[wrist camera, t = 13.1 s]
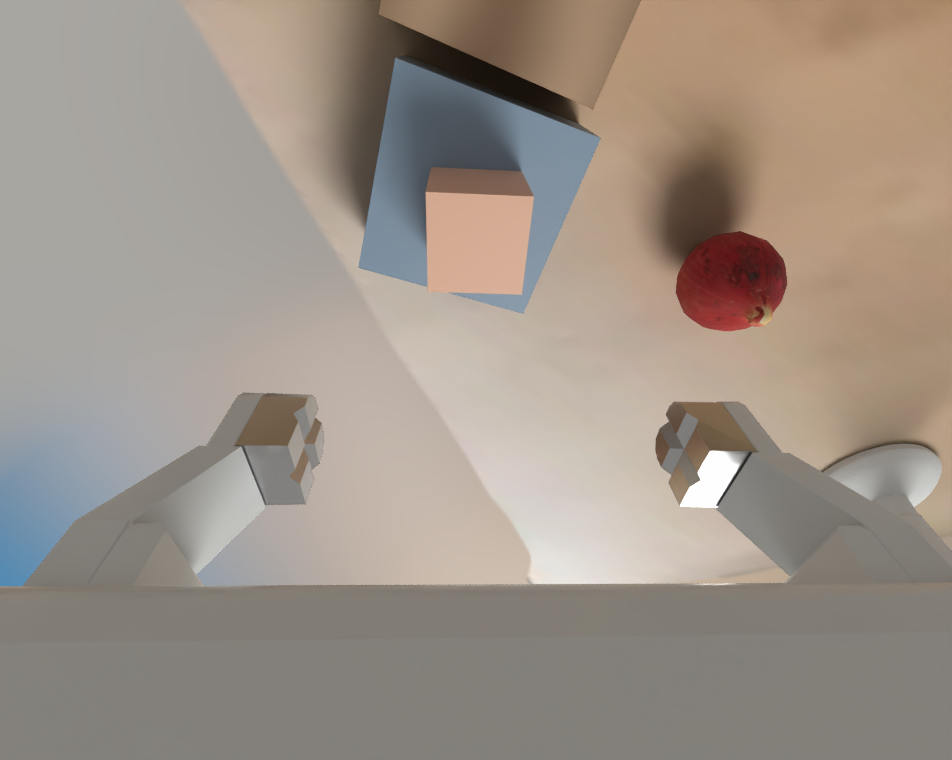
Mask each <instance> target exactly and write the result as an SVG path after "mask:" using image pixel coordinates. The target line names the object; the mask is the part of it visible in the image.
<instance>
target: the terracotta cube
mask: <svg viewBox="0 0 952 760" xmlns="http://www.w3.org/2000/svg"><path fill="white" fill-rule="evenodd" d="M533 201H534V195H533V193H532V191H531V189H530V187H529V185H528V183H527V181H526V179H525V177H524V175H523V173H522V171H506V170H484V169H463V168H441V167H431V170H430V174H429V179H428V184H427V188H426V232H427V280H428V292H450V293H483V294H516V295H522V290H523V281H524V273H525V265H526V257H527V249H528V241H529V233H530V225H531V217H532V209H533Z"/></svg>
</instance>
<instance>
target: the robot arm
mask: <svg viewBox="0 0 952 760" xmlns="http://www.w3.org/2000/svg"><path fill="white" fill-rule="evenodd" d="M317 411H318V405H317V402H316V398H315V397H314V396H313V395H299V394H276V393H266V394H264V393H242V394H240V395H238V397H237V398H236V400H235V401H234V403H233V404H232V406H231V408H230V409H229V411H228V412H227V414H226V415H225V417H224V419H223V420H222V422H221V423H220V425H219V426H218V428H217V430H216V431H215V433H214V434H213V436H212V438H211V439H210V441H209V442H208V444H207V446H198V447H196V448H195V449H193V450H191V451H190V452H188V453H187V454H185V455H183V456H181V457H180V458H178V459H176V460H175V461H173V462H171V463H170V464H168V465H167V466H165V467H163V468H162V469H160V470H158V471H157V472H155V473H153V474H152V475H150V476H149V477H147V478H145V479H144V480H142V481H140V482H138V483H137V484H135V485H134V486H132V487H130V488H129V489H127V490H125V491H124V492H122V493H120V494H119V495H117V496H115V497H114V498H112V499H111V500H109V501H107V502H105V503H104V504H102V505H101V506H99V507H97V508H96V509H94V510H92V511H91V512H89V513H87V514H86V515H84V516H82V517H81V518H79V519H77V520H76V521H74V523H73V524H72V525H71V527H70V528H69V529H68V530H67V531H66V533H65V534H64V535H63V536H62V538H61V539H60V540H59V541H58V543H57V544H56V545H55V547H54V548H53V549H52V550H51V551H50V553H49V554H48V555H47V556H46V558H45V559H44V560H43V561H42V563H41V564H40V565H39V566H38V568H37V569H36V570H35V571H34V573H33V574H32V575H31V576H30V578H29V579H28V580H27V581H26V583H25V584H24V585H23V586H22V587H0V760H952V567H951V566H950V565H949V564H948V563H947V562H946V561H945V560H944V559H943V558H942V557H941V556H940V555H939V553H938V552H937V551H936V550H935V549H934V548H933V547H932V546H931V545H930V544H929V543H928V542H927V541H926V539H925V538H924V537H923V536H922V535H921V534H920V533H919V532H918V531H917V530H916V529H915V528H914V527H913V525H912V524H910V523H908V522H907V521H905V520H903V519H901V518H900V517H898V516H896V515H895V514H893V513H891V512H889V511H888V510H886V509H884V508H883V507H881V506H879V505H877V504H876V503H874V502H872V501H871V500H869V499H867V498H865V497H864V496H862V495H860V494H859V493H857V492H855V491H853V490H852V489H850V488H848V487H847V486H845V485H843V484H841V483H840V482H838V481H836V480H835V479H833V478H831V477H829V476H828V475H826V474H824V473H823V472H821V471H819V470H817V469H816V468H814V467H812V466H811V465H809V464H807V463H805V462H804V461H802V460H800V459H799V458H797V457H795V456H793V455H792V454H790V453H782V452H781V450H780V449H779V448H778V447H777V445H776V444H775V443H774V442H773V440H772V439H771V438H770V436H769V435H768V434H767V433H766V431H765V430H764V429H763V428H762V426H761V425H760V424H759V422H758V421H757V420H756V419H755V417H754V416H753V415H752V414H751V412H750V411H749V410H748V408H747V407H746V406H745V405H744V404H742V403H740V402H673V403H672V404H671V405H670V406H669V408H668V411H667V413H666V416H667V418H668V420H669V422H668V423H666V424H665V425H664V426H662V427H661V428H660V429H659V432H658V434H657V437H656V448H655V450H656V455H657V459H658V461H659V463H660V466H661V467H662V468H663V469H664V470H666V471H667V472H668V473H669V474H671V477H670V480H669V482H668V483H669V485H670V487H671V489H672V491H673V493H674V495H675V497H676V499H677V502H678V504H679V506H688V507H717V508H716V510H718V511H719V512H720V513H721V514H722V515H723V516H724V517H725V518H726V519H727V520H729V521H730V522H731V523H732V524H733V525H734V526H735V527H736V528H737V529H738V530H740V531H741V532H742V533H743V534H744V535H745V536H746V537H747V538H748V539H749V540H751V541H752V542H753V543H754V544H755V545H756V546H757V547H758V548H759V549H760V550H762V551H763V552H764V553H765V554H766V555H767V556H768V557H769V558H770V559H771V560H773V561H774V562H775V563H776V564H777V565H778V566H779V567H780V568H781V569H783V570H784V571H785V572H786V573H787V574H788V575H789V576H790V577H789V578H788V579H787V580H786V581H785V582H784V583H701V584H698V583H690V584H517V585H516V584H510V585H509V584H506V585H504V584H503V585H502V584H496V585H301V586H300V585H284V586H283V585H277V586H276V585H275V586H273V585H271V586H204V585H203V584H202V582H201V581H200V580H199V578H198V577H197V575H196V574H197V573H198V572H199V571H200V570H201V569H202V568H203V567H205V566H206V565H207V564H208V563H209V562H210V561H211V560H212V559H213V558H214V557H215V556H216V555H217V554H218V553H219V552H220V551H221V550H222V549H223V548H224V547H225V546H226V545H227V544H228V543H229V542H230V541H231V540H232V539H233V538H234V537H236V536H237V535H238V534H239V533H240V532H241V531H242V530H243V529H244V528H245V527H246V526H247V525H248V524H249V523H250V522H251V521H252V520H253V519H254V518H255V517H256V516H257V515H258V514H259V513H260V512H261V511H262V510H263V509H264V508H265V507H266V506H265V505H293V504H306V503H307V500H308V497H309V494H310V491H311V488H312V485H313V482H314V477H313V473H312V469H313V468H315V467H316V466H317V465H318V464H320V460H321V457H322V454H323V446H324V431H323V427H322V423H321V422H320V421H318V420H317V419H316V418H315V417H316V414H317Z"/></svg>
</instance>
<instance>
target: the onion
mask: <svg viewBox="0 0 952 760" xmlns="http://www.w3.org/2000/svg"><path fill="white" fill-rule="evenodd" d="M786 286H787V276H786V268H785V264H784V261H783V258H782V257H781V256H780V255H779V254H778V252H777V251H776V250H775V249H774V248H773V246H772V245H771V244H770V243H769V242H768V241H766V240H764V239H761V238H758V237H755V236H752V235H749V234H747V233H744V232H741V231H739V232H733V233H726V234H719V235H715V236H713V237H711V238H709V239H708V240H706V241H704V242H703V243H701V244H699V245H697V247H696V248H695V249H694V250H693V251H692V252H691V253H690V254H689V256H688V257H687V258H686V259H685V261H684V263H683V265H682V267H681V269H680V271H679V274H678V276H677V285H676V294H677V297H678V300H679V302H680V305H681V307H682V309H683V311H684V313H685V314H686V315H687V316H688V317H689V318H691V319H692V320H693V321H695V322H696V323H698V324H699V325H701V326H702V327H705V328H709V329H714V330H720V331H734V330H740V329H746V328H748V327H751V326H765V325H766V324H767V323H768V322H769V321H771V320H772V313H773V312H774V311H775V309H776V308H777V307H778V305H779V304H780V303H781V301H782V298H783V295H784V293H785V290H786Z"/></svg>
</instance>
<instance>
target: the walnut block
mask: <svg viewBox="0 0 952 760" xmlns="http://www.w3.org/2000/svg"><path fill="white" fill-rule="evenodd" d="M640 1H641V0H381V3H380V8H379V15H381V16H384V17H386V18H388V19H390V20H393V21H395V22H397V23H399V24H402V25H404V26H406V27H408V28H411V29H413V30H415V31H417V32H420V33H422V34H424V35H427V36H429V37H431V38H433V39H436V40H438V41H440V42H442V43H445V44H447V45H449V46H451V47H454V48H456V49H458V50H460V51H463V52H465V53H467V54H469V55H472V56H474V57H476V58H478V59H481V60H483V61H485V62H487V63H490V64H492V65H494V66H496V67H499V68H501V69H503V70H505V71H508V72H510V73H512V74H514V75H517V76H519V77H521V78H524V79H526V80H528V81H530V82H533V83H535V84H537V85H539V86H542V87H544V88H546V89H548V90H551V91H553V92H555V93H557V94H560V95H562V96H564V97H566V98H569V99H571V100H573V101H575V102H578V103H580V104H582V105H584V106H587V107H589V108H591V109H593V108H594V106H595V103H596V101H597V99H598V96H599V94H600V92H601V90H602V87H603V85H604V83H605V81H606V78H607V76H608V74H609V72H610V69H611V67H612V65H613V63H614V60H615V58H616V56H617V53H618V51H619V49H620V47H621V44H622V42H623V40H624V38H625V35H626V33H627V31H628V29H629V26H630V24H631V22H632V19H633V17H634V15H635V13H636V10H637V8H638V6H639V4H640Z"/></svg>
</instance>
